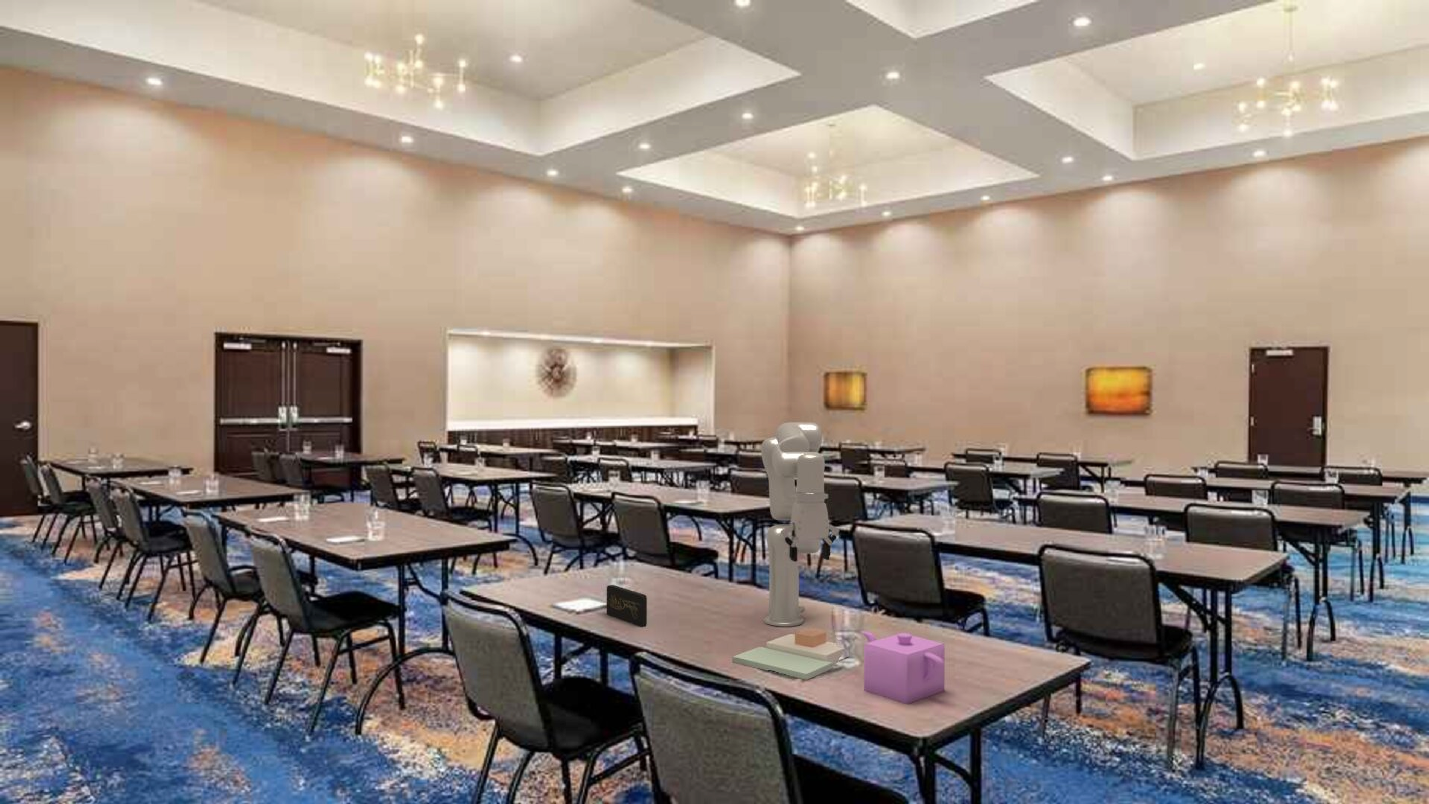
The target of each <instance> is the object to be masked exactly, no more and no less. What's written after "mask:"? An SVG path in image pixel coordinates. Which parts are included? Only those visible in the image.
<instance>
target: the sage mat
mask: <svg viewBox="0 0 1429 804" xmlns="http://www.w3.org/2000/svg"><path fill="white" fill-rule="evenodd" d="M732 663H734V664H739V665H743V666H748V667H751V668H757V669H761V670H765V671H768V670H774V671H776V672H779V673H778V674H780V673H784V674H786V675H785V676H788V675H789V676H788V677H793V676H794V677H793V678H796V679H802V680H804V681H805V680H806V681H807V680H809V679H811V678H814V677H816V676H818V675H821V674H823V673H825V672H827V671H829V670H832V669H833V664H832V663H831V662H827V661H822V660H818V659H813V658H809V657H804V656H800V655H795V654H791V653H786V652H782V651H777V650H773V649H768V648H766V647H763V646H758V647H756V648H755V647H754V648H752V649H750V650H747V651H745V652H741V653H739V654H737V655H733V656H732ZM776 672H775V673H776ZM784 674H783V675H784Z"/></svg>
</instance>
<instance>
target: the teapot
mask: <svg viewBox="0 0 1429 804" xmlns="http://www.w3.org/2000/svg"><path fill="white" fill-rule="evenodd" d="M860 632H861V633H862V635H864V636H865V638H866V639H867V641H868V642H865V643H864V645H863V648H864V649H863V654H864V655H863V657H864V659H863V663H864V664H863V669H864V670H863V671H864V673H863V674H864V675H863V677H864V678H863V691H864V692H868V693H871V694H874V695H877V696H881V697H883V698H886V699H890V700H893V701H896V702H899V703H902V704H905V705H909V704H911V703H914V702H916V701H920V700H923V699H925V698H928V697H931V696H934V695H936V694H938V693H942V692H944V691H945V681H946V680H945V678H946V677H945V670H946V669H945V668H946V667H945V663H946V662H945V658H946V657H945V654H946V652H945V650H946V648H945V643H943V642H939V641H936V640H935V641H934V640H932V639H931V640H930V639H928V638H927V639H926V638H922V637H918V636H914V635H912V634H911V633H908V632H900V633H897V634H895V635H890V636H887V637H883V638H880V639H877V638H876V636H875V635H874V634H873V633H872V632H869V631H867V630H866V631H865V630H864V631H863V630H861V631H860Z"/></svg>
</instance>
